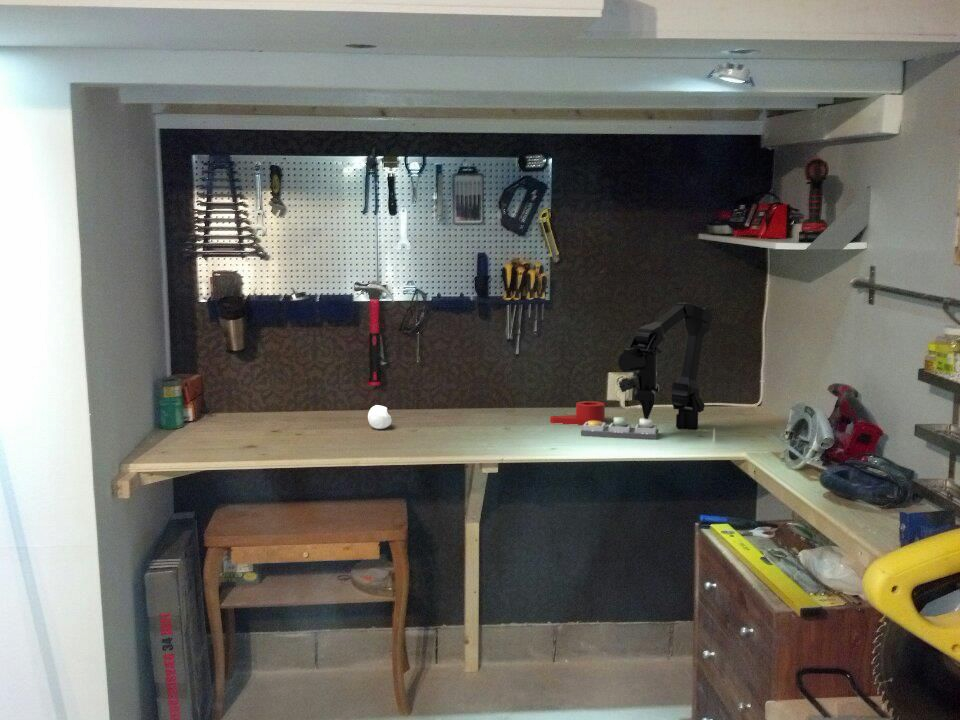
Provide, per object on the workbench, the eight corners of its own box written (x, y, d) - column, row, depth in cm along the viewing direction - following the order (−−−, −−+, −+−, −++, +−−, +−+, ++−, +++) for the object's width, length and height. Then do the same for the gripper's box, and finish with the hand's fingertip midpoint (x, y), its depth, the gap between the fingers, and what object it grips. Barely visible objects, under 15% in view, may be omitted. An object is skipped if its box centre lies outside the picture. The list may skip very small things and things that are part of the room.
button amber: (601, 426, 295) (601, 420, 294) (599, 429, 291) (599, 423, 290) (588, 426, 296) (589, 420, 295) (587, 428, 292) (587, 422, 291)
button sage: (627, 423, 292) (627, 417, 292) (625, 425, 288) (625, 419, 288) (614, 422, 293) (614, 416, 293) (612, 425, 289) (612, 418, 289)
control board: (658, 433, 293) (658, 424, 292) (656, 439, 284) (656, 430, 284) (585, 429, 299) (585, 420, 298) (580, 435, 290) (581, 426, 289)
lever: (602, 420, 315) (602, 401, 314) (606, 426, 306) (606, 406, 305) (549, 420, 315) (549, 401, 314) (551, 426, 306) (551, 406, 305)
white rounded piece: (392, 431, 298) (392, 407, 297) (368, 431, 296) (368, 407, 295) (390, 426, 305) (390, 402, 304) (367, 426, 304) (367, 403, 303)
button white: (653, 424, 290) (653, 418, 290) (651, 427, 286) (652, 420, 286) (640, 424, 291) (640, 417, 291) (638, 426, 287) (638, 420, 287)
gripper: (624, 363, 298) (623, 412, 300) (617, 372, 280) (616, 423, 282) (659, 365, 295) (658, 413, 297) (655, 373, 277) (653, 425, 279)
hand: (646, 418), depth 289 cm, fingers closed
